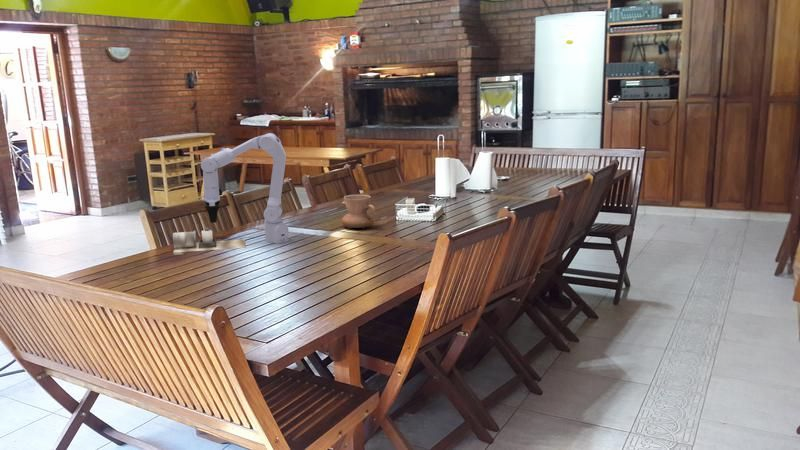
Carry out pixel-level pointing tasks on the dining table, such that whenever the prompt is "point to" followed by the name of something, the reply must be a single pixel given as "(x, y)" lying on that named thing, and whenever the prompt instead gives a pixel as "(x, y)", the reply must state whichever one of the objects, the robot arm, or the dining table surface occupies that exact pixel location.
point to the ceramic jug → (358, 211)
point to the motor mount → (188, 243)
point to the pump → (207, 235)
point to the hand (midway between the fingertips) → (213, 220)
